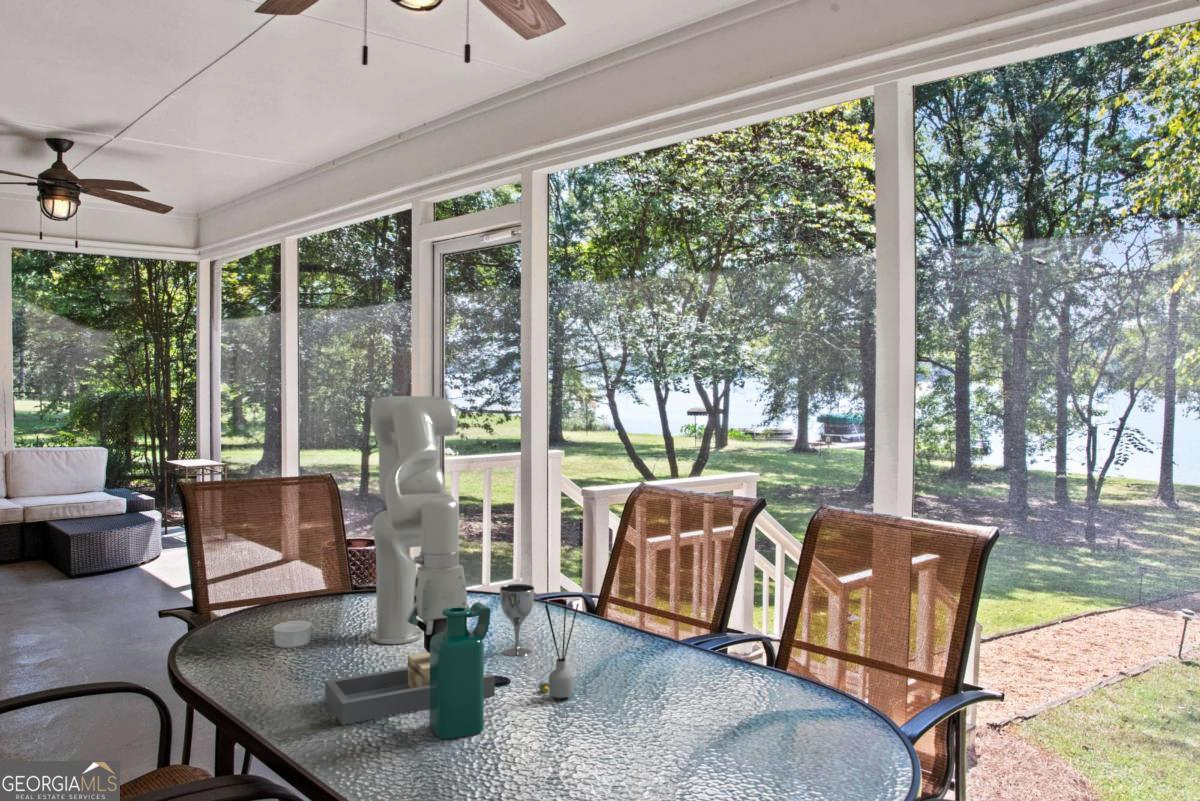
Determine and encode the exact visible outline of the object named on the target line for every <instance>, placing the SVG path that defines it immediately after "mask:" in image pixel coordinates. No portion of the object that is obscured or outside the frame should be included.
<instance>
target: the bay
mask: <svg viewBox="0 0 1200 801" xmlns="http://www.w3.org/2000/svg"><path fill="white" fill-rule="evenodd" d="M495 691H496V675H494V674H493V673H490V674H484V697H487V698H490V697H489V696H492V697H495V696H494V695H496V692H495ZM325 701H326V702H325ZM324 702H325V703H326V705H327V706H328V705H329V706H328V707H329V709H330V708H331V709H330V710H331V711H332V713H333V712H334V713H333V714H334V715H336V716H335V717H336V718H337V720H338V721H339V722H340V724H341V726H346V724H348V725H351V723H353V724H357V723H356V722H358V723H362V722H361V721H363V722H367V721H366V720H368V721H371V720H370V719H374V720H376V719H375V718H379V719H382V718H381V717H384V718H386V717H385V716H389V715H394V716H396V715H395V714H399V715H401V714H400V713H405V714H407V713H406V712H410V713H412V712H411V711H415V712H419V711H418V710H420V711H424V710H423V709H425V710H429V709H428V708H430V685H427V686H422V687H416V688H411V687H410V686H409V685H408V666H406V667H400V668H395V669H394V668H393V669H389V670H382V671H377V672H369V673H365V674H358V675H353V676H345V677H340V678H335V679H334V678H333V679H327V680H325V681H324ZM389 717H390V716H389Z"/></svg>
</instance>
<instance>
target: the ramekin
mask: <svg viewBox="0 0 1200 801" xmlns="http://www.w3.org/2000/svg"><path fill="white" fill-rule="evenodd" d="M312 627H313V623H312V622H310V621H308V620H292V621H291V620H290V621H285V622H280V623H278V624H275V625H274V626H273V627H272V631H273V635H274V636H273V637H274V644H275V645H276V647H278V648H282V647H283V649H288V648H290V649H291V648H292V647H293V648H299V647H302V646H306V645H308V644H309V643H310V642H311V636H312V635H311V633H312Z"/></svg>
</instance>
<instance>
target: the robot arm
mask: <svg viewBox="0 0 1200 801" xmlns="http://www.w3.org/2000/svg"><path fill="white" fill-rule="evenodd" d="M370 423H371V428H372V431H373V434H374V436H375V439H376V442H377V446H378V488H379V490H378V491H379V497H380V498H381V500H382V502H384V503H385V504H386V510H383V511H380V512H379V513H377V514H376V515H375V517H374V519H373V521H372V534H373V540H374V547H375V557H376V558H375V559H376V560H375V561H376V563H375V565H376V629H374V630H373V631H371V633H370V634H369V639H370V640H371V641H372V642H374V643H377V644H380V645H382V644H383V645H402V644H407V643H412V642H415V641H418V640H419V639H421V638H422V637H423V646H424V650H425V652H426V653H427V652H428V653H430V641H431V639H432V637H433V636H434V634H433V631H432V627H433V620H436V619H444V618H447V616H444V615H443V614H442V611H443V610H444V609H446V608H450V607H466V608H469V609H470V608H471V607H470V606H469V604H468V594H467V583H466V577H465V571H464V566H463V564H462V565H461V564H459V560H460V559H459V556H460V555H459V553H460V552H459V549H460V547H459V546H460V543H459V542H460V541H459V540H460V539H459V538H460V536H459V534H460V533H459V530H460V524H459V523H460V522H459V521H460V519H459V518H460V515H459V514H460V511H459V510H460V508H459V507H460V505H459V503H458V501H457V500H456V499H455V498H454V497H453V496H452V495H451V494H449V493H446V480H445V476H444V472H443V470H442V468H441V467H439V466H438V465H436V464H437V463H438V461H439V458H440V452H439V451H440V450H439V447H438V443H437V438H436V437H450V436H453V435H454V434H455V433H456V431H457V428H458V423H459V418H458V412H457V410H456V407H455V405H454V404H453V403H452V401H450V400H449V399H446V398H444V397H441V396H432V395H431V396H429V395H428V396H427V395H426V396H425V395H422V396H421V395H419V396H416V395H415V396H414V395H413V396H412V395H410V396H409V395H394V396H393V395H392V396H391V395H390V396H383V397H378V398H377V399H374V400H373V402H372V403H371V405H370ZM416 547H418V548H420V552H419V555H417V556H414V557H413V558H412V556H411V555H409V554H410V553H409V554H408V552H407V551H406V549H410V548H416ZM416 564H418V565H420V566H419V567H417V565H416ZM417 617H418V618H419V619H418V618H417Z"/></svg>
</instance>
